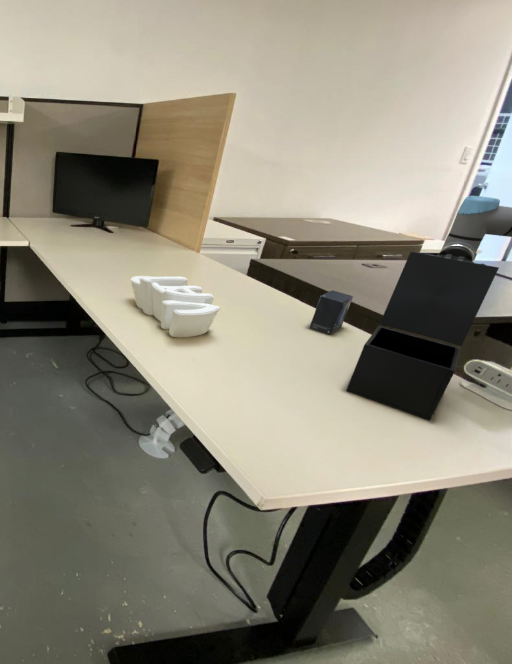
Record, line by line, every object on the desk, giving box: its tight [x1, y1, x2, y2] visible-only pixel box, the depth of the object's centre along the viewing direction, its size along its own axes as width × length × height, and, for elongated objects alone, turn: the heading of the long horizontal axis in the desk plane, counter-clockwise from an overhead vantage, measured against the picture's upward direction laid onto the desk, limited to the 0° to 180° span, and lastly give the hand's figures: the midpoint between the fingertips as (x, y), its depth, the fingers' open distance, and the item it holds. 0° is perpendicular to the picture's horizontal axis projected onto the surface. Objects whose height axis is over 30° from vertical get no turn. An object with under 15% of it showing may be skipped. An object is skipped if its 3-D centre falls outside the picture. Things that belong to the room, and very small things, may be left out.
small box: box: [308, 289, 354, 336], centre depth 139 cm, size 11×6×10 cm, turn 134°
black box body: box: [345, 325, 461, 422], centre depth 104 cm, size 17×16×12 cm
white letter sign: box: [130, 275, 221, 338], centre depth 136 cm, size 35×16×11 cm, turn 11°
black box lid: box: [379, 251, 500, 347], centre depth 105 cm, size 18×16×1 cm
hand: (446, 274), depth 109 cm, fingers closed
